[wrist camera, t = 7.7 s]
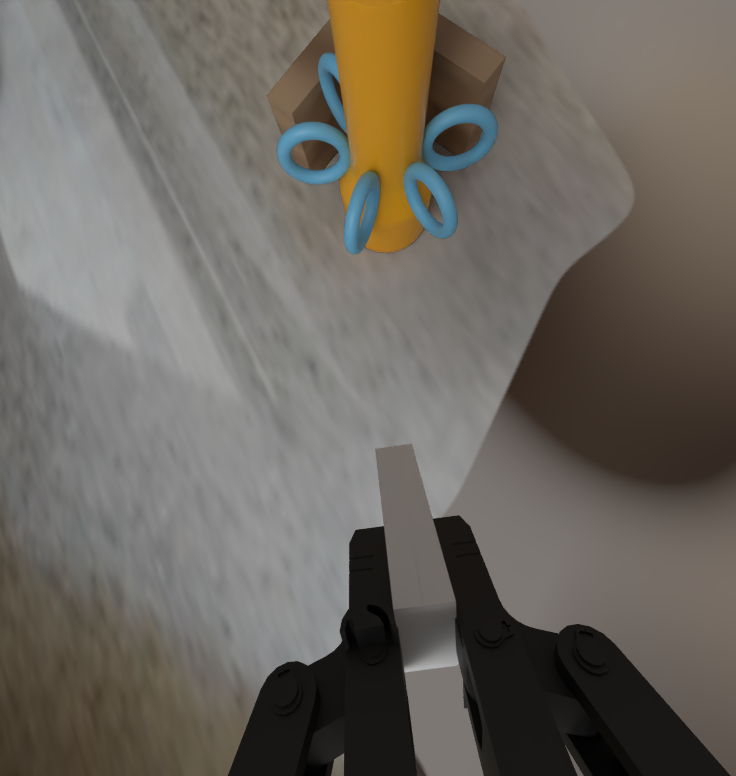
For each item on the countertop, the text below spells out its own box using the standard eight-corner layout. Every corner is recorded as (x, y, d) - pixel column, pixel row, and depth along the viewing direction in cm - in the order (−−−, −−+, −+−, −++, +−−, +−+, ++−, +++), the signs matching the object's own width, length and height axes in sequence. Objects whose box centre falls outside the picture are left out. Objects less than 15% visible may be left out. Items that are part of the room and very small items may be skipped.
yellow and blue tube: (494, 234, 25) (645, -23, 10) (381, 320, 25) (369, 188, 10) (393, 115, 27) (397, -269, 12) (285, 197, 27) (150, -80, 12)
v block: (481, 156, 26) (509, 79, 20) (295, 183, 27) (268, 117, 21) (466, 52, 27) (488, -54, 21) (285, 81, 27) (256, -12, 21)
